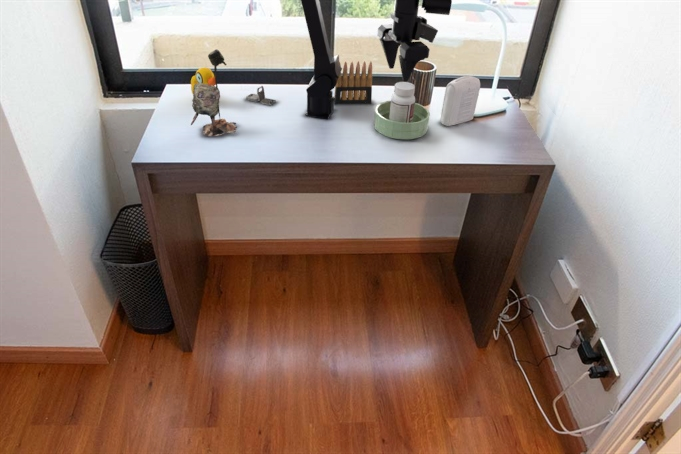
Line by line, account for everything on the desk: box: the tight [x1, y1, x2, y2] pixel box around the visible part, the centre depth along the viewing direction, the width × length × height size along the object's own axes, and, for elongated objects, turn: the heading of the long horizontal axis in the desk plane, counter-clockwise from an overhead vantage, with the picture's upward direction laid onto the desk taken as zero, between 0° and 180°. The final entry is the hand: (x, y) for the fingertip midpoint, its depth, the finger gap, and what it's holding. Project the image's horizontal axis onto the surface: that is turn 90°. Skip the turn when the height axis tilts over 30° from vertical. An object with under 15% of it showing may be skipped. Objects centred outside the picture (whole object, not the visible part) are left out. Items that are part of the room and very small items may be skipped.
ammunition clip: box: [333, 60, 373, 105], centre depth 143 cm, size 11×2×12 cm, turn 97°
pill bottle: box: [389, 81, 416, 123], centre depth 130 cm, size 6×6×11 cm
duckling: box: [190, 67, 216, 95], centre depth 139 cm, size 11×5×10 cm, turn 44°
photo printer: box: [439, 75, 481, 127], centre depth 136 cm, size 10×4×12 cm, turn 123°
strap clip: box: [246, 85, 277, 106], centre depth 143 cm, size 8×3×4 cm, turn 65°
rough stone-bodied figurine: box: [190, 49, 238, 137], centre depth 123 cm, size 8×11×20 cm
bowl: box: [373, 100, 431, 140], centre depth 133 cm, size 14×14×5 cm
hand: (398, 74), depth 130 cm, fingers open, 9 cm apart
